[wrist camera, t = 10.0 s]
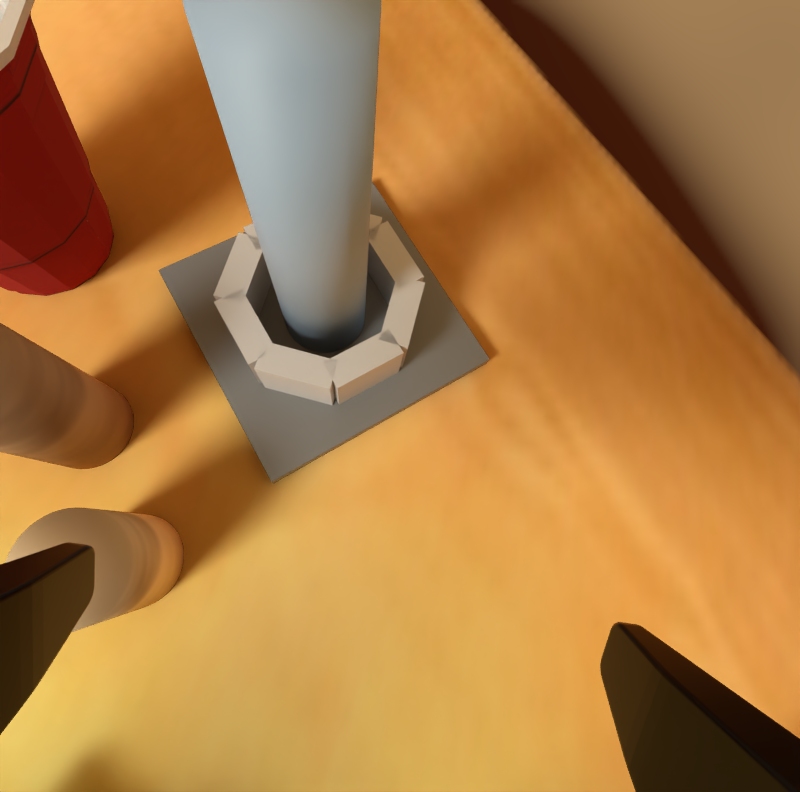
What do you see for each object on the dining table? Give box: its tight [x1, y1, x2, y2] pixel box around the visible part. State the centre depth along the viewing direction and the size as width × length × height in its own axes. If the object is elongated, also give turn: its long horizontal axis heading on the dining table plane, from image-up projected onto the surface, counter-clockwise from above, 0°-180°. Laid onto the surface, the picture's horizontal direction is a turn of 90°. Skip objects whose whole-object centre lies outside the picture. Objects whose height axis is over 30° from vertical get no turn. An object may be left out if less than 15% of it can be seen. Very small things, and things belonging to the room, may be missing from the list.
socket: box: [159, 182, 489, 483], centre depth 22 cm, size 11×11×3 cm
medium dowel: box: [0, 323, 134, 469], centre depth 17 cm, size 4×4×8 cm
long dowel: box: [183, 0, 381, 353], centre depth 16 cm, size 4×4×14 cm
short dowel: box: [5, 508, 184, 632], centre depth 17 cm, size 4×4×5 cm
